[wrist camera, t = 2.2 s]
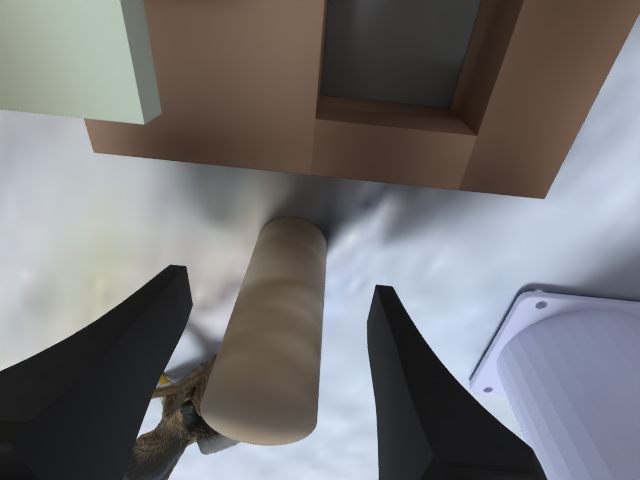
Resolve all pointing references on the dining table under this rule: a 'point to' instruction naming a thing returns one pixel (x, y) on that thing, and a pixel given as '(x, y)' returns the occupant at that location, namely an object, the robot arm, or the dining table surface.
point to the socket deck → (311, 88)
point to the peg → (272, 341)
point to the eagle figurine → (176, 428)
